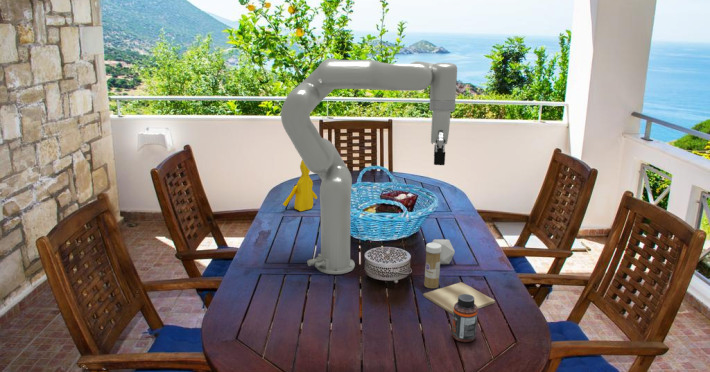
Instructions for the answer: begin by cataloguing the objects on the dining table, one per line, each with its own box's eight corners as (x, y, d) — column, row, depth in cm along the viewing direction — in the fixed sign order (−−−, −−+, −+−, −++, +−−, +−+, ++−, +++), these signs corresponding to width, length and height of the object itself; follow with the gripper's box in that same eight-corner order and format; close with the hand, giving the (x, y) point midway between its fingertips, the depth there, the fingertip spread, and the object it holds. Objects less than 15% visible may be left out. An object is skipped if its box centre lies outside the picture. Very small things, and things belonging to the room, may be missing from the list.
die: (447, 271, 187) (462, 246, 188) (424, 257, 187) (439, 232, 188) (442, 270, 195) (457, 246, 196) (421, 256, 195) (435, 232, 196)
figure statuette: (314, 203, 252) (314, 154, 246) (325, 207, 246) (325, 157, 240) (280, 211, 241) (278, 160, 234) (290, 216, 235) (289, 164, 229)
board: (455, 316, 158) (455, 313, 158) (423, 296, 169) (423, 293, 169) (494, 302, 166) (495, 300, 165) (461, 284, 177) (461, 281, 177)
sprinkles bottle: (421, 285, 175) (423, 244, 172) (429, 281, 179) (431, 240, 175) (433, 290, 173) (435, 248, 169) (442, 285, 176) (444, 244, 172)
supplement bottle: (449, 331, 150) (451, 291, 147) (471, 330, 151) (474, 291, 148) (454, 343, 145) (457, 303, 141) (478, 342, 145) (481, 302, 142)
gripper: (429, 101, 181) (427, 154, 186) (429, 109, 164) (426, 167, 169) (454, 101, 180) (450, 155, 185) (455, 110, 163) (452, 168, 168)
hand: (439, 161), depth 177 cm, fingers open, 9 cm apart
